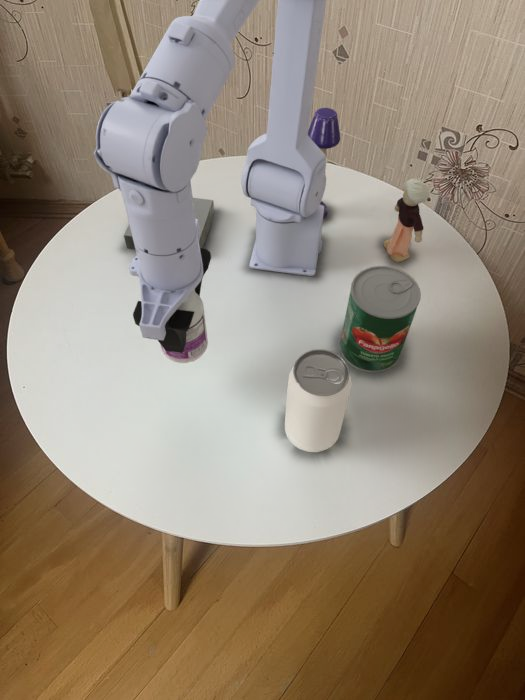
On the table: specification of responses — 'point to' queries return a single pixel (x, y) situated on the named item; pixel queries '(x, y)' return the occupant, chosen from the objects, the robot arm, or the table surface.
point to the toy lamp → (325, 133)
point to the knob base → (202, 213)
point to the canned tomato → (378, 318)
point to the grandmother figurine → (407, 220)
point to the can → (316, 400)
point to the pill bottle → (192, 332)
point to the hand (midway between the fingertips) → (181, 327)
